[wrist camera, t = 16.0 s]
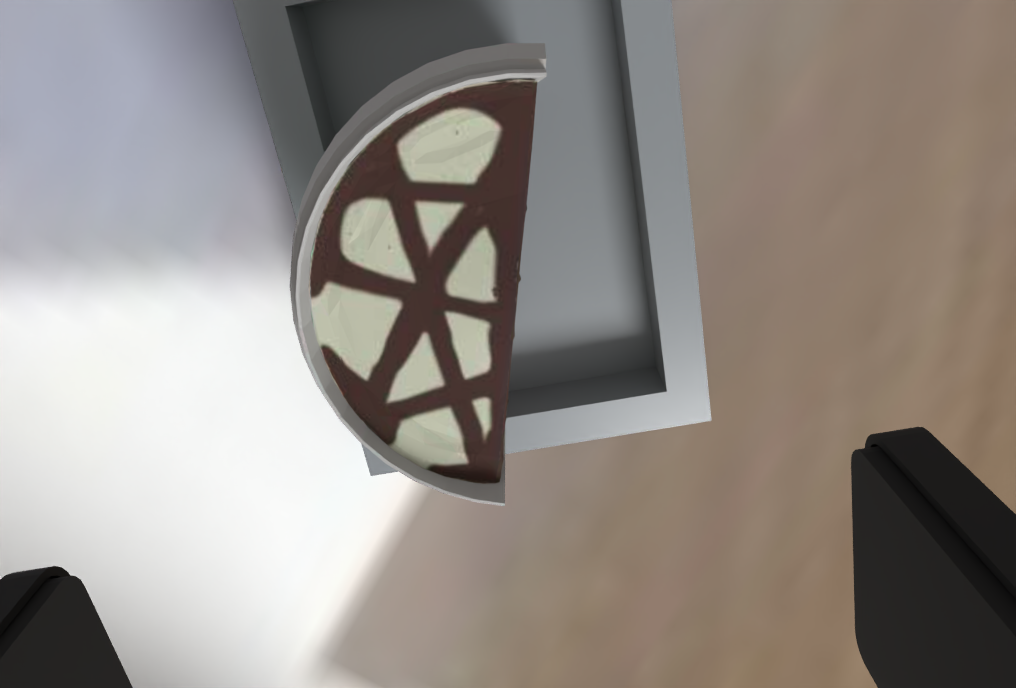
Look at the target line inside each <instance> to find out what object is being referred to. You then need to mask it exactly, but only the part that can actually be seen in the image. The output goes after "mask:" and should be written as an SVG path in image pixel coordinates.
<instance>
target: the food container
mask: <svg viewBox="0 0 1016 688" xmlns="http://www.w3.org/2000/svg"><path fill="white" fill-rule="evenodd" d="M545 68H546V50H545V43H505V44H499V45H493V46H487V47H481V48H475V49H469V50H464V51H462V52H459V53H456V54H453V55H450V56H447V57H444V58H441V59H438V60H435V61H432V62H429V63H427V64H425V65H423V66H421V67H420V68H418V69H416V70H414V71H412V72H410V73H408V74H407V75H405V76H403V77H401V78H399V79H397V80H396V81H394V82H392V83H391V84H390V85H388V86H387V87H386V88H384V89H383V90H382V91H381V92H379V93H378V94H377V95H376V96H374V97H373V98H372V99H370V100H369V101H368V102H367V103H365V104H364V105H363V106H362V107H361V108H360V109H359V110H358V111H357V112H356V113H355V114H354V115H353V116H352V118H351V119H350V120H349V121H348V122H347V123H346V124H345V125H344V126H343V127H342V129H341V130H340V131H339V132H338V133H337V134H336V135H335V137H334V139H333V140H332V142H331V143H330V145H329V146H328V148H327V150H326V151H325V153H324V154H323V156H322V157H321V159H320V161H319V162H318V164H317V165H316V167H315V169H314V172H313V174H312V177H311V179H310V181H309V184H308V186H307V189H306V191H305V193H304V196H303V198H302V201H301V205H300V209H299V214H298V218H297V222H296V227H295V231H294V236H293V248H292V262H291V277H290V291H291V301H292V311H293V320H294V324H295V328H296V332H297V335H298V339H299V343H300V346H301V350H302V353H303V356H304V358H305V360H306V362H307V364H308V367H309V369H310V371H311V373H312V375H313V378H314V380H315V382H316V384H317V386H318V387H319V389H320V390H321V392H322V394H323V395H324V397H325V398H326V400H327V401H328V403H329V404H330V406H331V407H332V409H333V410H334V412H335V413H336V415H337V416H338V418H339V419H340V420H341V422H342V423H343V424H344V425H345V426H346V427H347V428H348V429H349V430H350V432H351V433H352V434H353V435H354V436H355V437H356V438H357V439H358V440H359V441H360V443H361V444H363V445H364V446H365V447H366V448H367V449H369V450H370V451H371V452H372V453H374V454H375V455H376V456H377V457H378V458H380V459H381V460H382V461H383V462H385V463H386V464H387V465H389V466H390V467H392V468H394V469H395V470H397V471H399V472H400V473H402V474H404V475H405V476H407V477H409V478H410V479H412V480H414V481H416V482H418V483H420V484H423V485H425V486H427V487H430V488H432V489H435V490H437V491H439V492H442V493H444V494H448V495H451V496H455V497H458V498H462V499H466V500H469V501H473V502H478V503H485V504H493V505H500V506H504V505H505V422H506V419H507V417H506V413H507V405H508V402H509V399H508V393H509V380H510V368H511V357H512V347H513V339H514V337H515V328H514V327H515V317H516V307H517V296H518V284H519V282H520V281H521V276H520V274H519V273H520V262H521V251H522V242H523V233H524V223H525V214H526V211H527V195H528V185H529V174H530V163H531V153H532V142H533V131H534V118H535V106H536V93H537V82H539V81H541V80H542V79H544V78H545V77H546V76H547V72H546V69H545Z"/></svg>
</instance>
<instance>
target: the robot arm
mask: <svg viewBox="0 0 1016 688" xmlns="http://www.w3.org/2000/svg"><path fill="white" fill-rule="evenodd" d="M851 475H852V517H853V559H854V601H855V633H856V639H857V644H858V648H859V651H860V654H861V657H862V659H863V661H864V663H865V665H866V667H867V669H868V671H869V673H870V674H871V676H872V678H873V680H874V681H875V683H876V685H877V687H878V688H1016V514H1015V513H1014V512H1013V511H1012V510H1010V509H1009V508H1008V507H1007V506H1006V505H1005V504H1004V503H1003V502H1002V501H1001V500H1000V499H999V498H998V497H997V496H996V495H995V494H994V493H993V492H992V491H991V490H990V489H989V488H987V487H986V486H985V485H984V484H983V483H982V482H981V481H980V480H979V479H978V478H977V477H976V476H975V475H974V474H973V473H972V472H971V471H970V470H969V469H968V468H967V467H966V466H964V465H963V464H962V463H961V462H960V461H959V460H958V459H957V458H956V457H955V456H954V455H953V454H952V453H951V452H950V451H949V450H948V449H947V448H946V447H945V446H944V445H943V444H942V443H940V442H939V441H938V440H937V439H936V438H935V437H934V436H933V435H932V434H931V433H930V432H929V431H928V430H926V429H925V428H923V427H914V428H908V429H902V430H896V431H890V432H883V433H877V434H871V435H870V436H869V437H868V438H867V440H866V443H865V448H864V449H858V450H855V451H854V452H853V454H852V459H851ZM0 688H132V685H131V683H130V681H129V679H128V677H127V675H126V673H125V671H124V669H123V666H122V664H121V662H120V660H119V658H118V656H117V654H116V652H115V649H114V647H113V645H112V643H111V641H110V639H109V637H108V635H107V633H106V630H105V628H104V626H103V624H102V622H101V620H100V618H99V616H98V613H97V611H96V609H95V607H94V605H93V603H92V601H91V599H90V597H89V594H88V592H87V590H86V588H85V586H84V584H83V583H82V581H81V580H80V579H79V578H77V577H76V576H70V575H69V573H68V572H67V571H66V570H64V569H63V568H62V567H56V566H53V567H47V568H40V569H34V570H28V571H22V572H16V573H11V574H8V575H5V576H4V577H3V578H2V579H0Z"/></svg>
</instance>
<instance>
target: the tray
mask: <svg viewBox="0 0 1016 688" xmlns="http://www.w3.org/2000/svg"><path fill="white" fill-rule="evenodd" d="M233 3H234V7H235V10H236V14H237V17H238V20H239V24H240V27H241V31H242V34H243V38H244V41H245V45H246V48H247V51H248V55H249V58H250V62H251V65H252V69H253V72H254V76H255V79H256V82H257V86H258V89H259V93H260V96H261V100H262V103H263V107H264V110H265V113H266V117H267V120H268V124H269V127H270V131H271V134H272V137H273V141H274V144H275V148H276V151H277V155H278V158H279V162H280V165H281V168H282V172H283V175H284V179H285V182H286V186H287V189H288V193H289V196H290V199H291V203H292V206H293V210H294V213H295V217H296V220H297V218H298V214H299V209H300V205H301V201H302V198H303V196H304V193H305V191H306V189H307V186H308V184H309V181H310V179H311V177H312V174H313V172H314V169H315V167H316V165H317V164H318V162H319V161H320V159H321V157H322V156H323V154H324V153H325V151H326V150H327V148H328V146H329V145H330V143H331V142H332V140H333V139H334V137H335V135H336V134H337V133H338V132H339V131H340V130H341V129H342V127H343V126H344V125H345V124H346V123H347V122H348V121H349V120H350V119H351V118H352V116H353V115H354V114H355V113H356V112H357V111H358V110H359V109H360V108H361V107H362V106H363V105H364V104H365V103H367V102H368V101H369V100H370V99H372V98H373V97H374V96H376V95H377V94H378V93H379V92H381V91H382V90H383V89H384V88H386V87H387V86H388V85H390V84H391V83H392V82H394V81H396V80H397V79H399V78H401V77H403V76H405V75H407V74H408V73H410V72H412V71H414V70H416V69H418V68H420V67H421V66H423V65H425V64H427V63H429V62H432V61H435V60H438V59H441V58H444V57H447V56H450V55H453V54H456V53H459V52H462V51H464V50H469V49H475V48H481V47H487V46H493V45H499V44H505V43H545V50H546V68H545V69H546V72H547V76H546V77H545V78H544V79H542V80H541V81H539V82H537V93H536V106H535V118H534V131H533V142H532V153H531V163H530V174H529V185H528V195H527V211H526V214H525V223H524V233H523V242H522V251H521V262H520V273H519V274H520V276H521V281H520V282H519V284H518V296H517V307H516V317H515V327H514V328H515V337H514V339H513V347H512V357H511V368H510V380H509V393H508V399H509V402H508V405H507V413H506V417H507V419H506V422H505V454H509V453H515V452H521V451H527V450H533V449H540V448H546V447H552V446H558V445H564V444H570V443H577V442H583V441H589V440H595V439H601V438H607V437H613V436H620V435H626V434H632V433H638V432H644V431H650V430H657V429H663V428H669V427H675V426H681V425H687V424H694V423H700V422H706V421H711V412H710V401H709V391H708V380H707V370H706V359H705V349H704V338H703V328H702V317H701V307H700V296H699V286H698V275H697V264H696V254H695V243H694V233H693V222H692V212H691V201H690V191H689V180H688V170H687V159H686V149H685V138H684V128H683V117H682V107H681V96H680V86H679V75H678V65H677V54H676V44H675V33H674V23H673V12H672V1H671V0H233ZM362 447H363V451H364V454H365V458H366V461H367V464H368V468H369V471H370V475H371V476H373V475H379V474H386V473H392V472H398V471H397V470H395V469H394V468H392V467H390V466H389V465H387V464H386V463H385V462H383V461H382V460H381V459H380V458H378V457H377V456H376V455H375V454H374V453H372V452H371V451H370V450H369V449H367V448H366V447H365V446H364V445H363V444H362Z"/></svg>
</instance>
